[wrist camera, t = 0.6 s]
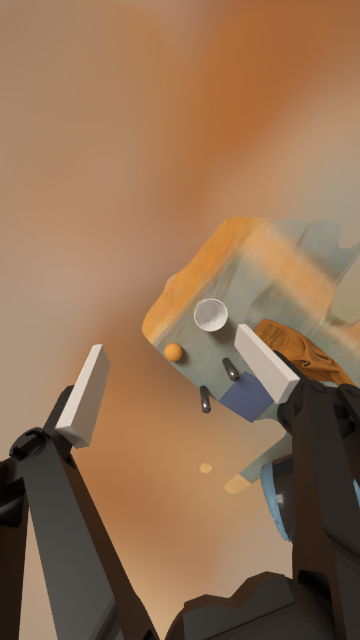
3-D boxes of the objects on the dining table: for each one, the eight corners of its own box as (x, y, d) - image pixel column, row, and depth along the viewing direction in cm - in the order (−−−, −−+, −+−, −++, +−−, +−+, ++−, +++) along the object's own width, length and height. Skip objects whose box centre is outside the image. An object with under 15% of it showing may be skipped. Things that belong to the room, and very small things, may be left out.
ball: (186, 346, 48) (185, 354, 43) (176, 359, 49) (175, 368, 44) (171, 337, 48) (169, 343, 42) (162, 350, 49) (159, 358, 43)
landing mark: (279, 393, 49) (279, 394, 49) (251, 422, 52) (251, 423, 52) (245, 371, 49) (245, 371, 48) (218, 401, 51) (218, 401, 51)
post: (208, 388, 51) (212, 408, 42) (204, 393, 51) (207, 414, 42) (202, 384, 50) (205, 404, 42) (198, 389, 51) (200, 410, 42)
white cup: (220, 297, 45) (229, 299, 35) (218, 323, 46) (225, 332, 36) (194, 296, 45) (195, 298, 35) (192, 322, 46) (193, 330, 37)
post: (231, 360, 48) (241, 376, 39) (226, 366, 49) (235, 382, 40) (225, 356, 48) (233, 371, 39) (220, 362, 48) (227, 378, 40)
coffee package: (274, 361, 47) (345, 420, 26) (243, 339, 47) (289, 381, 25) (296, 336, 45) (394, 378, 24) (265, 313, 45) (335, 334, 23)
